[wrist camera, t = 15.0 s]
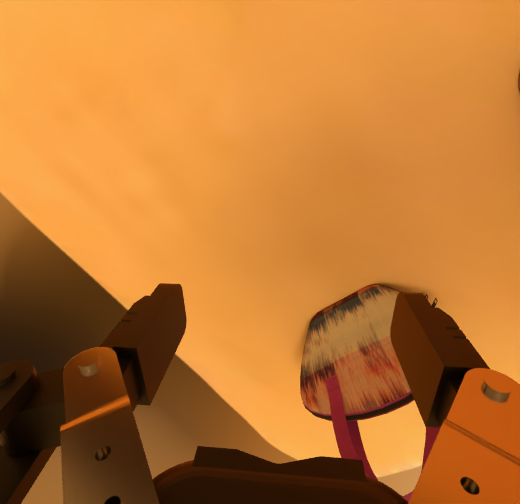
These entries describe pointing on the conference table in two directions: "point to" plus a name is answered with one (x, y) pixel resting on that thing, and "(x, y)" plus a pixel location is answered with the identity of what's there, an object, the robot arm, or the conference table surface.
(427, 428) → the handbag
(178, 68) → the conference table surface
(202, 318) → the conference table surface
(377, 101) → the conference table surface
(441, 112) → the conference table surface
